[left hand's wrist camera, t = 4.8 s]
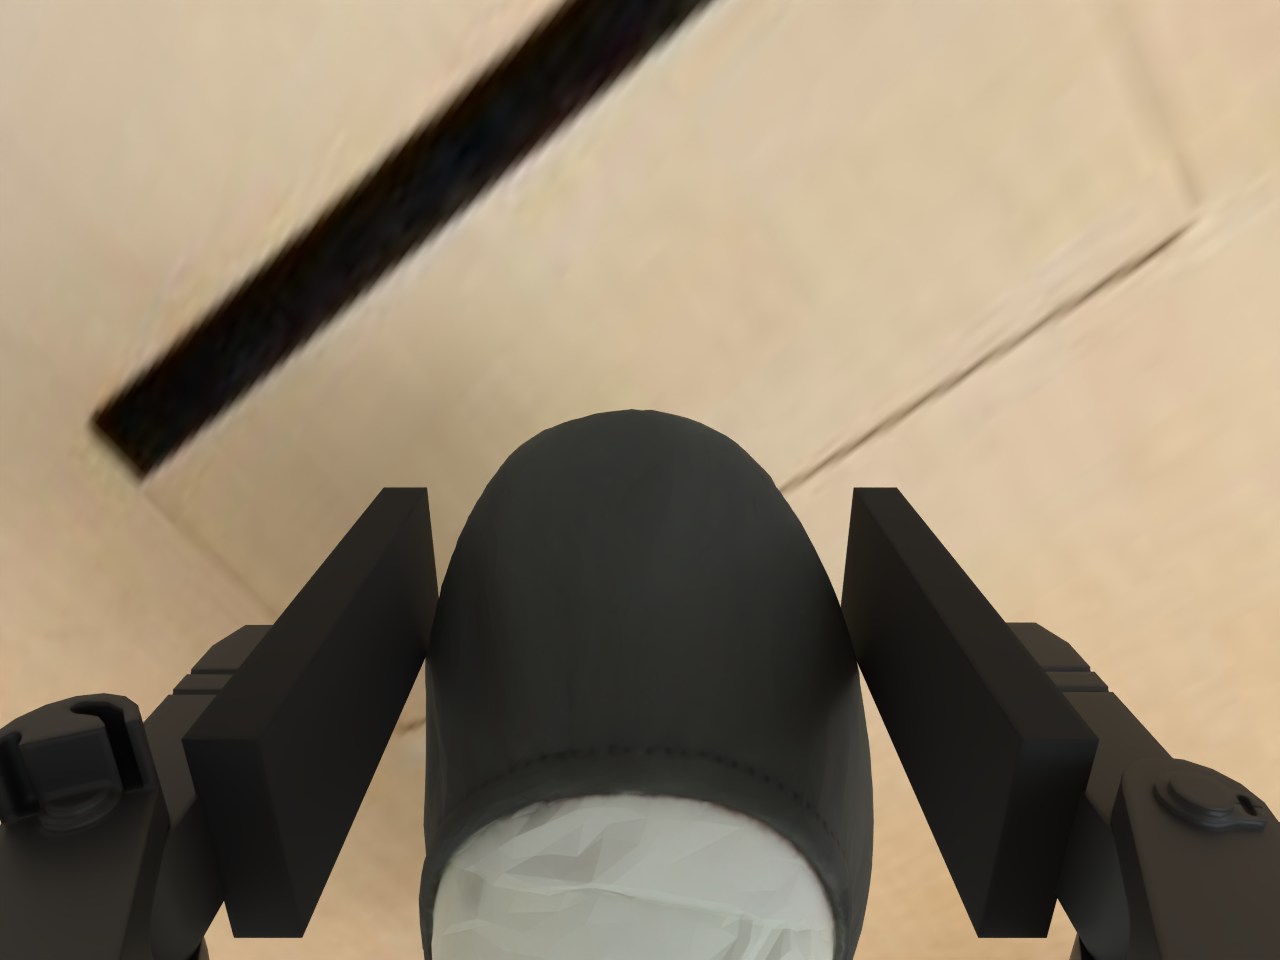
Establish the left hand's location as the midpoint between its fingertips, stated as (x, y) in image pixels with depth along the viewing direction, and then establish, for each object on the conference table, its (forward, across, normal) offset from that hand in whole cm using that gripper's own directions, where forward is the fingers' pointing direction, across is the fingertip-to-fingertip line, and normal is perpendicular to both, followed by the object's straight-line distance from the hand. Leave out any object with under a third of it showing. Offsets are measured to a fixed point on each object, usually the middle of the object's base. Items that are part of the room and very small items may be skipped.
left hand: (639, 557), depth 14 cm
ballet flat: (+1, 0, -9) cm, 9 cm away
